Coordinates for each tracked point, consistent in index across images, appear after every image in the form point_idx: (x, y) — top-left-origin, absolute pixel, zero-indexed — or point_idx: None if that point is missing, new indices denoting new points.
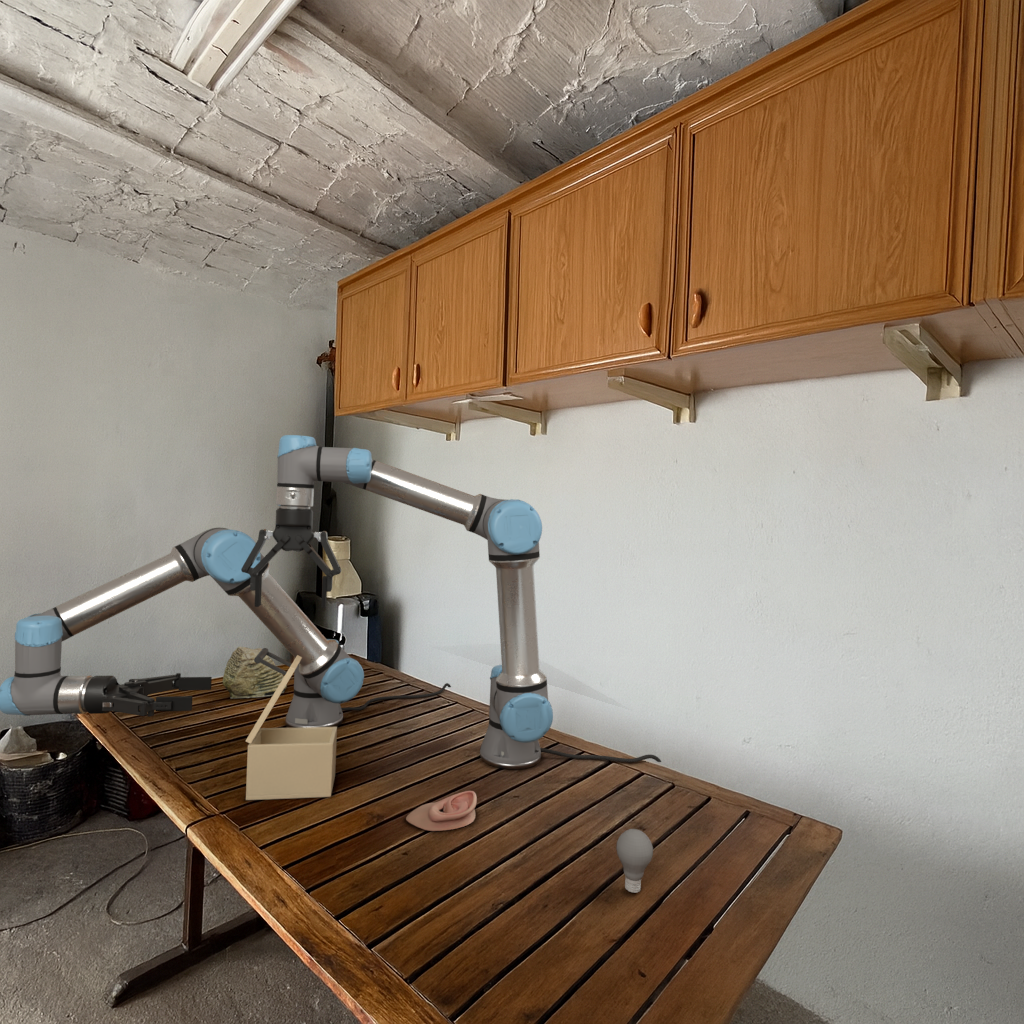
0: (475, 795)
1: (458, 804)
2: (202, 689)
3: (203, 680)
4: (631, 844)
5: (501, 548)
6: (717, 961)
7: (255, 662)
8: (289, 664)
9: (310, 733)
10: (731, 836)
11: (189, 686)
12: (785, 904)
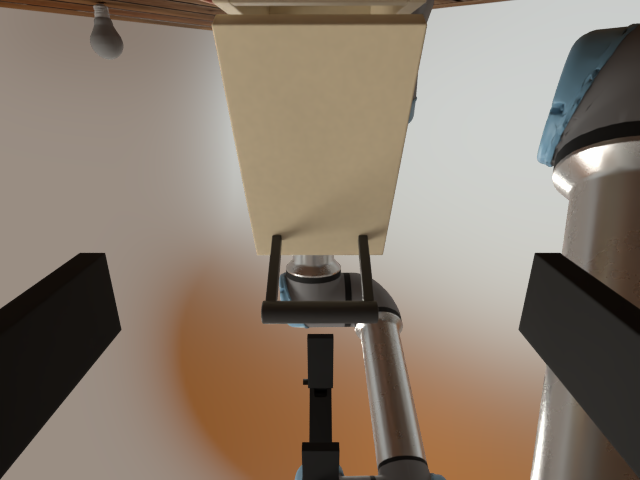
0: (215, 4)
1: None
2: (566, 281)
3: (548, 342)
4: (96, 52)
5: (284, 287)
6: (35, 8)
7: (262, 308)
8: (358, 242)
9: (377, 13)
10: (208, 21)
11: (634, 372)
12: (124, 20)
